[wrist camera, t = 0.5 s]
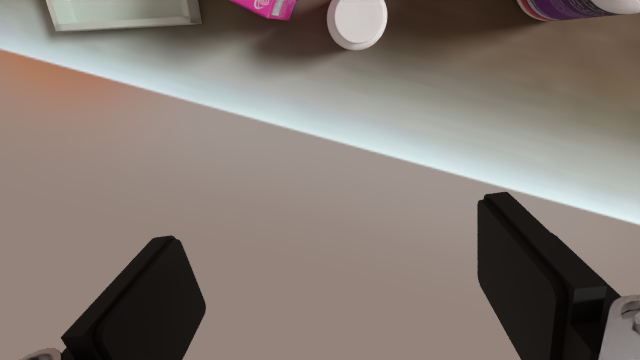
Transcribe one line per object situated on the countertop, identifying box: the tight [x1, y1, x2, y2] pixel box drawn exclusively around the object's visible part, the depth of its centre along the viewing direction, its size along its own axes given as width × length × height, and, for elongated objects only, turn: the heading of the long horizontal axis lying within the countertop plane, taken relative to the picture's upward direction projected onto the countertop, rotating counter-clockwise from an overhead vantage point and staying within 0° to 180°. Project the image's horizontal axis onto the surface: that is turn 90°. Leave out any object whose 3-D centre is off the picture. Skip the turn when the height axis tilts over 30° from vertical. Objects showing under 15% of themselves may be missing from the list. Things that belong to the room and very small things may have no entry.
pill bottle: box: [327, 0, 387, 50], centre depth 31 cm, size 5×5×9 cm
